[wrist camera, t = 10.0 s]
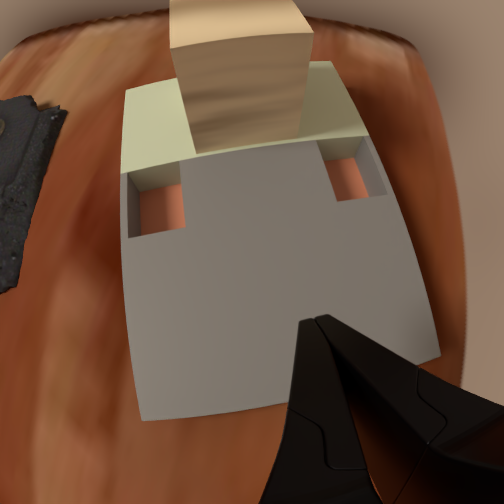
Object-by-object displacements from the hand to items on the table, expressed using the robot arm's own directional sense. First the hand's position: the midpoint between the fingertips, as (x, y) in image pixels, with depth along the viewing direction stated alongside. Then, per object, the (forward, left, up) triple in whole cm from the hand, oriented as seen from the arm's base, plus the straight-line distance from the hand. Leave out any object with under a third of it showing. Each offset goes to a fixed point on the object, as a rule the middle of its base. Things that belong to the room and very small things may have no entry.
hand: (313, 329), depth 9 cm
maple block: (+14, -10, -9) cm, 19 cm away
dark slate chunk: (+30, +10, -13) cm, 34 cm away
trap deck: (+7, -6, -12) cm, 16 cm away
